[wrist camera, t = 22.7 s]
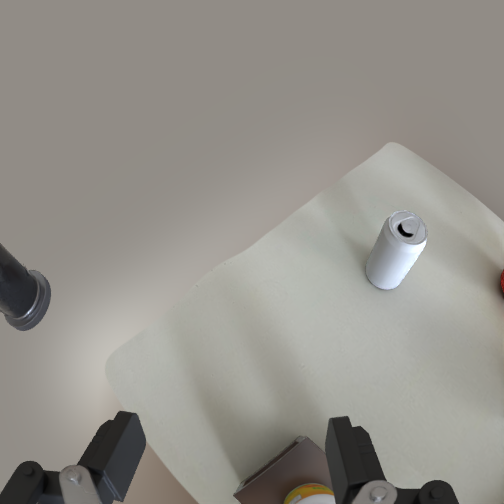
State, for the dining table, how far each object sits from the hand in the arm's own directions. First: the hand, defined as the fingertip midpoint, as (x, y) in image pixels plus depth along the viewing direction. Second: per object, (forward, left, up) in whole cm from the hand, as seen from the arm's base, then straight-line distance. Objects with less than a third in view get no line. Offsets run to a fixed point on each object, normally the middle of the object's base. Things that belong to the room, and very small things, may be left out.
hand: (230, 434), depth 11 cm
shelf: (+3, -10, -28) cm, 29 cm away
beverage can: (+25, +16, -28) cm, 41 cm away
